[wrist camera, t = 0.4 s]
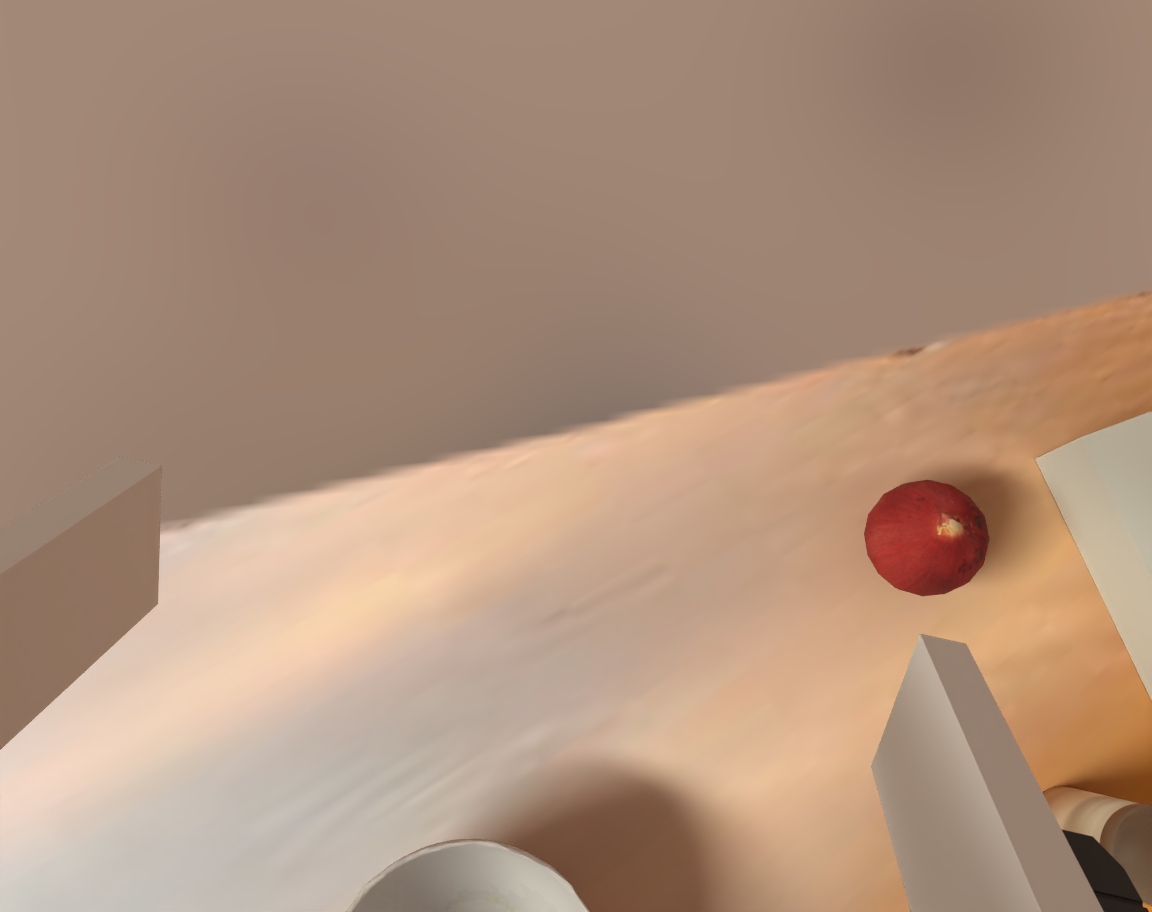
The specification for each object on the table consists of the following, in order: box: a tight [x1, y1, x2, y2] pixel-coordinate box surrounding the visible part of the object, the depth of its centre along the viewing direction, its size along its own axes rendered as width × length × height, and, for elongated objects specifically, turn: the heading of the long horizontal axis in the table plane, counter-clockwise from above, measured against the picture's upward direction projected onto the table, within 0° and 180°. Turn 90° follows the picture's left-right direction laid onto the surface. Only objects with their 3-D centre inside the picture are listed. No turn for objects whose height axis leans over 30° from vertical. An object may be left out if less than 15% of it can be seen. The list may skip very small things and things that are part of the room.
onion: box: [864, 480, 989, 596], centre depth 48 cm, size 6×6×8 cm
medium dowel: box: [1042, 786, 1152, 906], centre depth 44 cm, size 4×4×8 cm
